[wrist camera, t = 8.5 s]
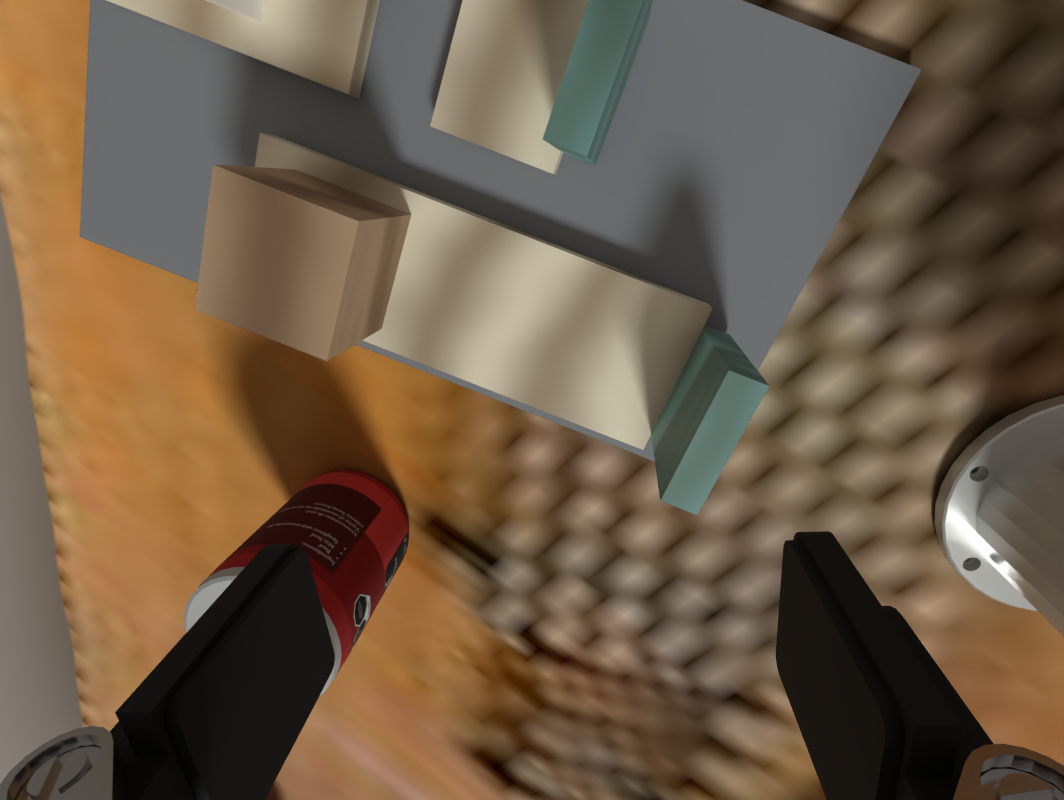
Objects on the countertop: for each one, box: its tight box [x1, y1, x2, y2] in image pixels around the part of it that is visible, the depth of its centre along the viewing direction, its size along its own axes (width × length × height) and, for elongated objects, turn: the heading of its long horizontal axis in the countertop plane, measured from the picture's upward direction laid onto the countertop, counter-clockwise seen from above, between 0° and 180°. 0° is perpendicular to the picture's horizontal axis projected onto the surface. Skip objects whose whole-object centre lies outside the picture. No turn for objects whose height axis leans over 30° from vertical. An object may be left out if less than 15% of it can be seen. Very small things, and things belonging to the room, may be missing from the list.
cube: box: [195, 165, 411, 361], centre depth 26 cm, size 6×6×6 cm
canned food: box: [185, 470, 409, 696], centre depth 32 cm, size 8×8×11 cm
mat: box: [80, 0, 922, 461], centre depth 28 cm, size 37×21×1 cm, turn 70°
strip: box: [255, 133, 769, 515], centre depth 26 cm, size 25×8×8 cm, turn 70°
